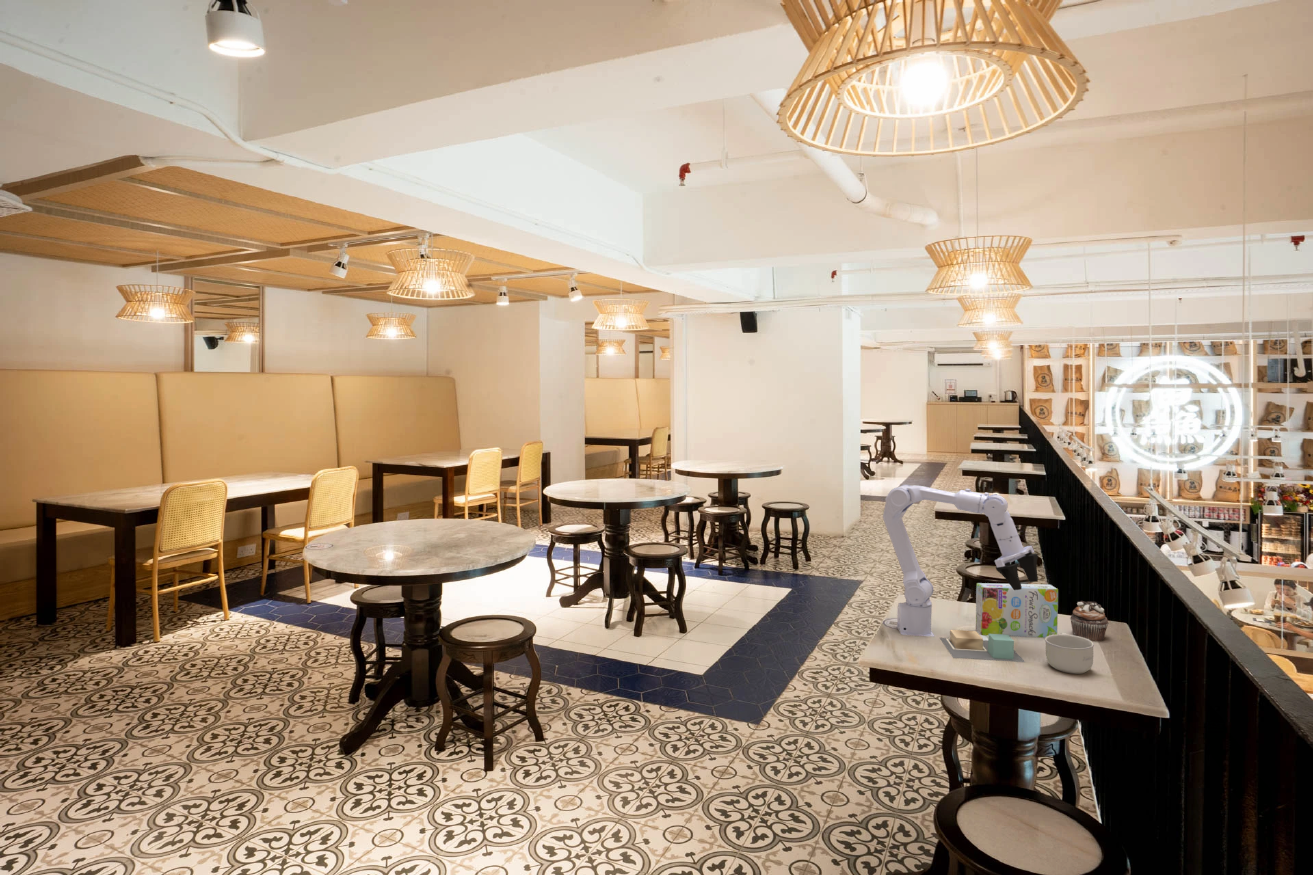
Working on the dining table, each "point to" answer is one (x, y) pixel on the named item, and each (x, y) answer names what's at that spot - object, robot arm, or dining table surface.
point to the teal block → (1000, 646)
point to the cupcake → (1089, 621)
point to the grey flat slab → (975, 652)
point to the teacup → (1069, 653)
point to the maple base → (966, 639)
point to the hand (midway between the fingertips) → (1026, 585)
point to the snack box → (1016, 610)
